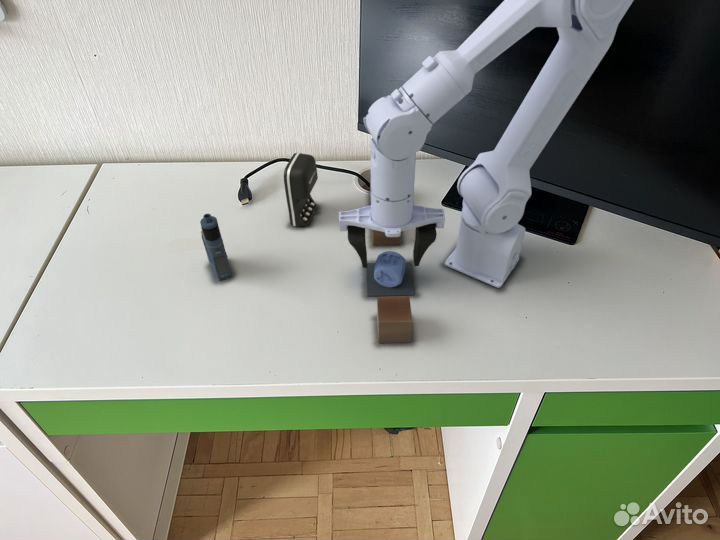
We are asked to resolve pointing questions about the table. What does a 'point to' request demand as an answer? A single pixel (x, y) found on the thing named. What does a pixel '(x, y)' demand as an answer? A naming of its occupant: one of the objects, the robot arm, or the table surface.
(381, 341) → the block near
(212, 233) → the vaping device
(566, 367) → the table surface
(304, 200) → the battery charger
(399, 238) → the block mid
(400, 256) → the decorative dice
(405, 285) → the pad
